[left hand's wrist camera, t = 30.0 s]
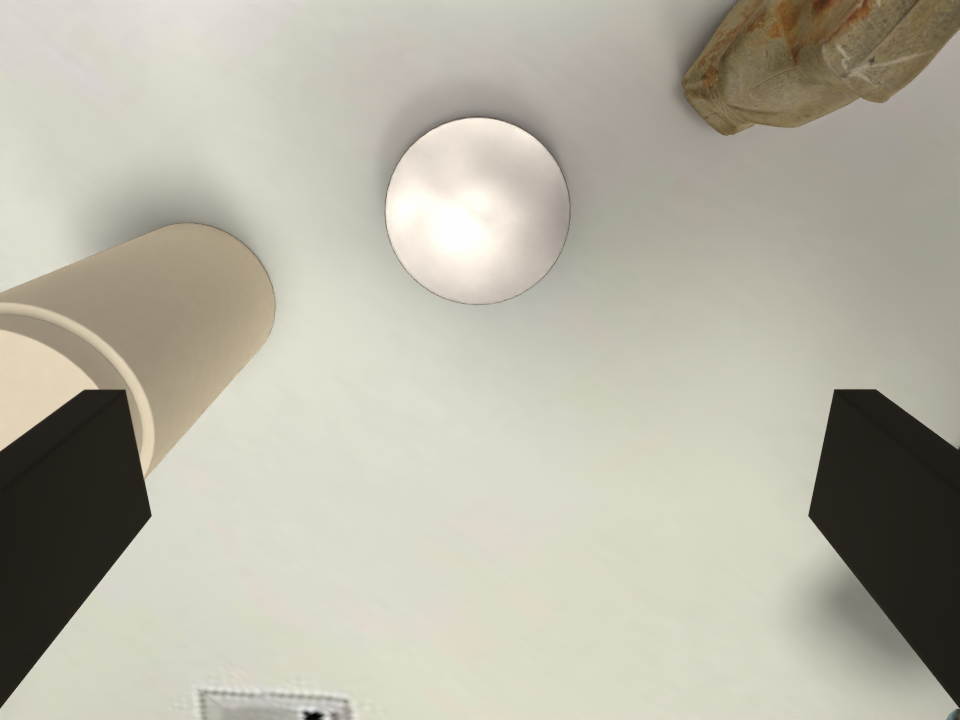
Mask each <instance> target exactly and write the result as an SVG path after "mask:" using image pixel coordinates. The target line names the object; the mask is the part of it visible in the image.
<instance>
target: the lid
mask: <svg viewBox="0 0 960 720" xmlns="http://www.w3.org/2000/svg"><path fill="white" fill-rule="evenodd" d="M385 220H386V228H387V232H388V237H389V240H390V243H391V245H392V248H393V250H394V252H395V254H396V256H397V258H398V260H399V261H400V263H401V264H402V266H403V267H404V269H405V270H406V271H407V272H408V273H409V274H410V275H411V277H412V278H413V279H414V280H416V281H417V282H418V283H419V284H420V285H421V286H423V287H424V288H426V289H427V290H429V291H430V292H432V293H434V294H436V295H438V296H440V297H442V298H445V299H447V300H450V301H453V302H458V303H463V304H472V305H483V304H492V303H498V302H502V301H505V300H508V299H511V298H513V297H516V296H518V295H520V294H522V293H523V292H525V291H527V290H528V289H530V288H531V287H533V286H534V285H535V284H536V283H538V282H539V281H540V280H541V279H542V278H543V277H544V276H545V275H546V274H547V273H548V272H549V270H550V269H551V268H552V266H553V265H554V264H555V262H556V260H557V259H558V257H559V255H560V253H561V251H562V249H563V246H564V244H565V241H566V238H567V234H568V230H569V223H570V199H569V192H568V188H567V185H566V181H565V178H564V176H563V174H562V171H561V169H560V167H559V165H558V164H557V162H556V160H555V158H554V157H553V156H552V155H551V153H550V152H549V151H548V149H547V148H546V147H545V146H544V145H543V144H542V143H541V142H540V141H539V140H538V139H536V138H535V137H534V136H532V135H531V134H530V133H528V132H527V131H525V130H524V129H522V128H520V127H518V126H516V125H514V124H512V123H509V122H507V121H504V120H500V119H496V118H491V117H480V116H478V117H465V118H459V119H455V120H452V121H449V122H446V123H443V124H441V125H439V126H437V127H435V128H433V129H431V130H430V131H428V132H427V133H426V134H424V135H423V136H421V137H420V138H419V139H418V140H417V141H415V142H414V143H413V144H412V145H411V146H410V147H409V149H408V150H407V151H406V152H405V153H404V155H403V156H402V157H401V159H400V161H399V162H398V164H397V165H396V167H395V170H394V172H393V174H392V176H391V179H390V182H389V185H388V189H387V194H386V200H385Z"/></svg>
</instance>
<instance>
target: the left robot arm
mask: <svg viewBox="0 0 960 720" xmlns="http://www.w3.org/2000/svg"><path fill="white" fill-rule="evenodd" d="M151 516H152V515H151V510H150V505H149V501H148V496H147V491H146V486H145V481H144V476H143V472H142V467H141V462H140V457H139V452H138V447H137V442H136V438H135V433H134V428H133V423H132V418H131V413H130V408H129V404H128V399H127V394H126V389H84V390H83V391H81V392H80V393H79V394H77V395H76V396H75V397H73V398H72V399H71V400H69V401H68V402H66V403H65V404H64V405H62V406H61V407H60V408H58V409H57V410H56V411H54V412H53V413H52V414H50V415H49V416H47V417H46V418H45V419H43V420H42V421H41V422H39V423H38V424H37V425H35V426H34V427H32V428H31V429H30V430H28V431H27V432H26V433H24V434H23V435H22V436H20V437H19V438H18V439H16V440H15V441H13V442H12V443H11V444H9V445H8V446H7V447H5V448H4V449H3V450H1V451H0V708H1V707H2V706H3V704H4V703H5V702H6V700H7V699H8V698H9V697H10V695H11V694H12V693H13V692H14V690H15V689H16V688H17V686H18V685H19V684H20V683H21V681H22V680H23V679H24V678H25V676H26V675H27V674H28V673H29V671H30V670H31V669H32V667H33V666H34V665H35V664H36V662H37V661H38V660H39V659H40V657H41V656H42V655H43V653H44V652H45V651H46V650H47V648H48V647H49V646H50V645H51V643H52V642H53V641H54V639H55V638H56V637H57V636H58V634H59V633H60V632H61V631H62V629H63V628H64V627H65V625H66V624H67V623H68V622H69V620H70V619H71V618H72V617H73V615H74V614H75V613H76V611H77V610H78V609H79V608H80V606H81V605H82V604H83V603H84V601H85V600H86V599H87V598H88V596H89V595H90V594H91V592H92V591H93V590H94V589H95V587H96V586H97V585H98V584H99V582H100V581H101V580H102V578H103V577H104V576H105V575H106V573H107V572H108V571H109V570H110V568H111V567H112V566H113V564H114V563H115V562H116V561H117V559H118V558H119V557H120V556H121V554H122V553H123V552H124V550H125V549H126V548H127V547H128V545H129V544H130V543H131V542H132V540H133V539H134V538H135V536H136V535H137V534H138V533H139V531H140V530H141V529H142V528H143V526H144V525H145V524H146V523H147V521H148V520H149V519H150V517H151ZM808 516H809V517H810V519H811V520H812V521H813V523H814V524H815V525H816V526H817V528H818V529H819V530H820V531H821V533H822V534H823V535H824V536H825V538H826V539H827V540H828V542H829V543H830V544H831V545H832V547H833V548H834V549H835V550H836V552H837V553H838V554H839V556H840V557H841V558H842V559H843V561H844V562H845V563H846V564H847V566H848V567H849V568H850V570H851V571H852V572H853V573H854V575H855V576H856V577H857V578H858V580H859V581H860V582H861V584H862V585H863V586H864V587H865V589H866V590H867V591H868V592H869V594H870V595H871V596H872V598H873V599H874V600H875V601H876V603H877V604H878V605H879V606H880V608H881V609H882V610H883V611H884V613H885V614H886V615H887V617H888V618H889V619H890V620H891V622H892V623H893V624H894V625H895V627H896V628H897V629H898V631H899V632H900V633H901V634H902V636H903V637H904V638H905V639H906V641H907V642H908V643H909V645H910V646H911V647H912V648H913V650H914V651H915V652H916V653H917V655H918V656H919V657H920V659H921V660H922V661H923V662H924V664H925V665H926V666H927V667H928V669H929V670H930V671H931V673H932V674H933V675H934V676H935V678H936V679H937V680H938V681H939V683H940V684H941V685H942V686H943V688H944V689H945V690H946V692H947V693H948V694H949V695H950V697H951V698H952V699H953V700H954V702H955V703H956V704H957V706H958V707H959V708H960V451H959V450H957V449H956V448H955V447H953V446H952V445H951V444H949V443H948V442H947V441H945V440H944V439H942V438H941V437H940V436H938V435H937V434H936V433H934V432H933V431H932V430H930V429H929V428H928V427H926V426H925V425H923V424H922V423H921V422H919V421H918V420H917V419H915V418H914V417H913V416H911V415H910V414H908V413H907V412H906V411H904V410H903V409H902V408H900V407H899V406H898V405H896V404H895V403H894V402H892V401H891V400H889V399H888V398H887V397H885V396H884V395H883V394H881V393H880V392H879V391H877V390H876V389H834V394H833V399H832V404H831V408H830V413H829V418H828V423H827V428H826V433H825V438H824V442H823V447H822V452H821V457H820V462H819V467H818V472H817V476H816V481H815V486H814V491H813V496H812V501H811V505H810V510H809V515H808ZM946 720H960V709H956V710H954V711H953V712H952V713H951V714H949V716H948V718H947V719H946Z"/></svg>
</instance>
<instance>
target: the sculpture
mask: <svg viewBox="0 0 960 720" xmlns="http://www.w3.org/2000/svg"><path fill="white" fill-rule="evenodd" d="M959 29H960V0H739V1H738V2H737V3H736V5H735V6H734V7H733V8H732V9H731V10H730V12H729V13H728V14H727V16H726V17H725V19H724V20H723V21H722V23H721V24H720V26H719V27H718V28H717V30H716V31H715V33H714V35H713V36H712V38H711V39H710V41H709V42H708V44H707V45H706V47H705V48H704V50H703V51H702V53H701V54H700V56H699V57H698V58H697V60H696V61H695V62H694V63H693V65H692V66H691V68H690V69H689V70H688V71H687V72H686V74H685V75H684V77H683V79H682V86H683V88H684V89H685V97H686V99H687V100H688V102H689V103H690V104H691V106H692V107H693V108H694V109H695V110H696V111H697V112H698V114H699V115H700V116H701V117H702V118H703V119H704V120H705V121H706V122H707V123H708V124H709V125H711V126H712V127H713V128H714V129H715V130H716V131H718V132H719V133H721V134H722V135H730V134H731V135H733V134H735V133H738V132H740V131H742V130H744V129H747V128H749V127H751V126H753V125H755V124H762V125H769V126H776V127H785V128H793V127H798V126H801V125H804V124H806V123H808V122H811V121H813V120H815V119H818V118H820V117H822V116H824V115H827V114H829V113H831V112H833V111H835V110H838V109H840V108H842V107H844V106H846V105H848V104H850V103H852V102H853V101H855V100H857V99H858V98H859V97H861V98H863V99H865V100H868V101H872V102H877V103H883V102H886V101H887V100H888V99H889V98H890V97H891V96H892V95H894V94H895V93H896V92H898V91H899V90H901V89H902V88H903V87H905V86H906V85H907V84H909V83H910V82H911V81H912V80H913V79H914V78H915V77H916V76H917V75H918V74H919V73H920V72H921V71H922V70H923V69H924V68H925V67H926V66H927V65H928V64H929V63H930V62H931V61H932V59H933V58H934V57H935V56H936V55H937V54H938V52H939V51H940V50H941V49H942V48H943V47H944V45H945V44H946V43H947V42H948V41H949V40H950V39H951V38H952V37H953V36H954V35H955V33H956V32H957V31H958V30H959Z"/></svg>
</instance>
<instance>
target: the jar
mask: <svg viewBox="0 0 960 720" xmlns="http://www.w3.org/2000/svg"><path fill="white" fill-rule="evenodd" d="M274 317H275V298H274V293H273V288H272V285H271V282H270V279H269V277H268V275H267V273H266V271H265V269H264V267H263V266H262V264H261V263H260V261H259V260H258V259H257V258H256V256H255V255H254V254H253V253H252V252H251V251H250V250H249V249H248V248H247V247H246V246H245V245H244V244H243V243H241V242H240V241H239V240H237V239H236V238H234V237H233V236H231V235H229V234H227V233H226V232H223V231H221V230H219V229H216V228H213V227H210V226H207V225H201V224H195V223H180V224H172V225H168V226H164V227H162V228H159V229H157V230H154V231H152V232H149V233H147V234H144V235H142V236H140V237H137V238H135V239H132V240H130V241H127V242H125V243H122V244H120V245H117V246H115V247H112V248H110V249H107V250H105V251H102V252H100V253H98V254H95V255H93V256H90V257H88V258H85V259H83V260H80V261H78V262H75V263H73V264H70V265H68V266H65V267H63V268H61V269H58V270H56V271H53V272H51V273H48V274H46V275H43V276H41V277H38V278H36V279H33V280H31V281H28V282H26V283H24V284H21V285H19V286H16V287H14V288H11V289H9V290H6V291H4V292H1V293H0V451H1V450H3V449H4V448H5V447H7V446H8V445H9V444H11V443H12V442H13V441H15V440H16V439H18V438H19V437H20V436H22V435H23V434H24V433H26V432H27V431H28V430H30V429H31V428H32V427H34V426H35V425H37V424H38V423H39V422H41V421H42V420H43V419H45V418H46V417H47V416H49V415H50V414H52V413H53V412H54V411H56V410H57V409H58V408H60V407H61V406H62V405H64V404H65V403H66V402H68V401H69V400H71V399H72V398H73V397H75V396H76V395H77V394H79V393H80V392H81V391H83V390H84V389H126V394H127V399H128V404H129V408H130V413H131V418H132V423H133V428H134V433H135V438H136V442H137V447H138V452H139V457H140V462H141V467H142V472H143V476H144V480H145V479H146V477H147V476H148V475H149V474H150V473H151V472H152V471H153V470H154V468H155V467H156V466H157V465H158V464H159V463H160V462H161V460H162V459H163V458H164V457H165V456H166V455H167V454H168V452H169V451H170V450H171V449H172V448H173V447H174V446H175V445H176V443H177V442H178V441H179V440H180V439H181V438H182V437H183V435H184V434H185V433H186V432H187V431H188V430H189V429H190V427H191V426H192V425H193V424H194V423H195V422H196V421H197V420H198V418H199V417H200V416H201V415H202V414H203V413H204V412H205V410H206V409H207V408H208V407H209V406H210V405H211V404H212V402H213V401H214V400H215V399H216V398H217V397H218V396H219V395H220V393H221V392H222V391H223V390H224V389H225V388H226V387H227V385H228V384H229V383H230V382H231V381H232V380H233V379H234V378H235V376H236V375H237V374H238V373H239V372H240V371H241V370H242V368H243V367H244V366H245V365H246V364H247V363H248V362H249V360H250V359H251V358H252V357H253V356H254V355H255V354H256V353H257V351H258V350H259V349H260V348H261V347H262V345H263V344H264V343H265V341H266V339H267V338H268V336H269V334H270V331H271V329H272V326H273V321H274Z"/></svg>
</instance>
